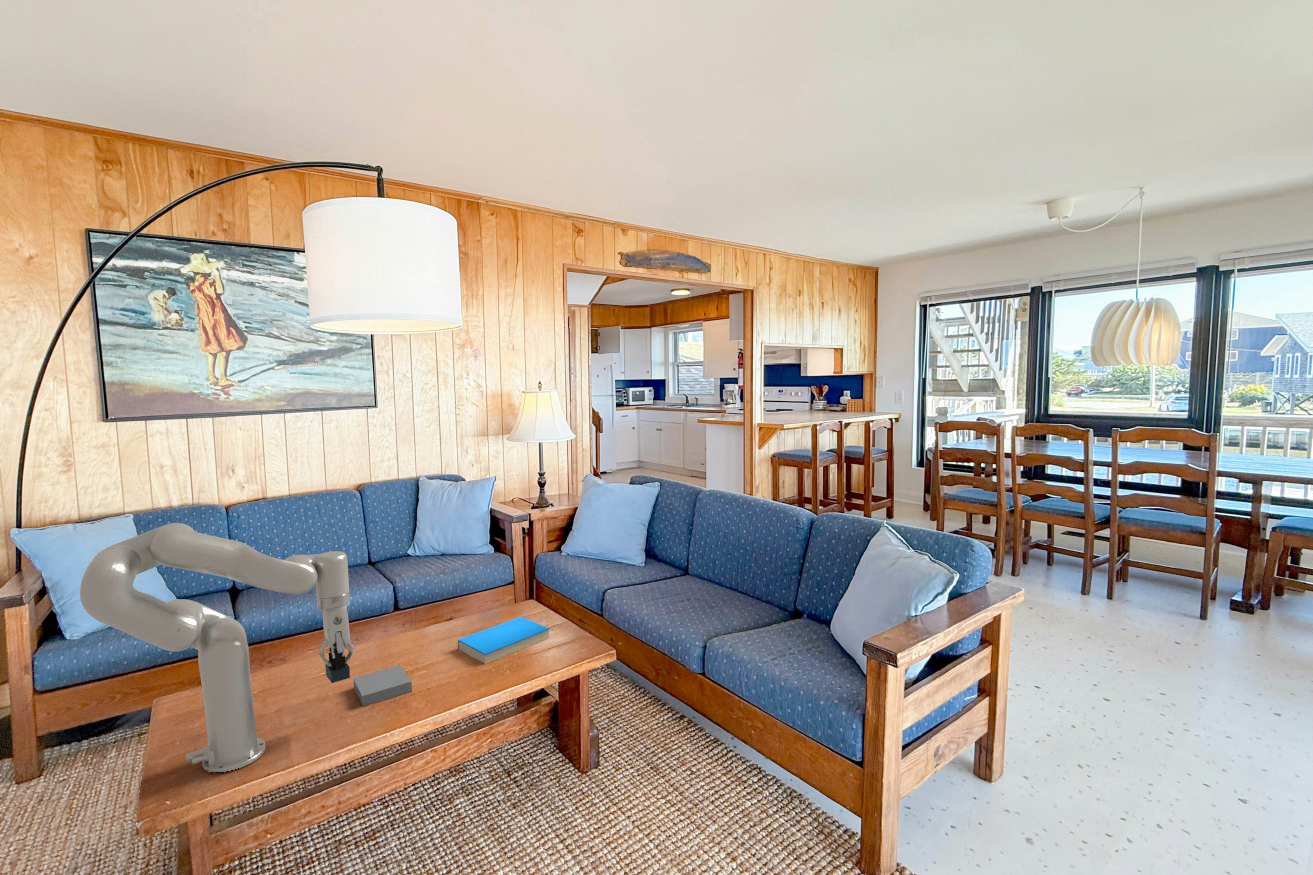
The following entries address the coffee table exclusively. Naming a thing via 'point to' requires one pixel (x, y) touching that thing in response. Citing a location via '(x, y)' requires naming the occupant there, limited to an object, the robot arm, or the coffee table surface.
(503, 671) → the coffee table surface
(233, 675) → the robot arm
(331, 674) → the watch
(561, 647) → the coffee table surface
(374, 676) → the plinth
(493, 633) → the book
